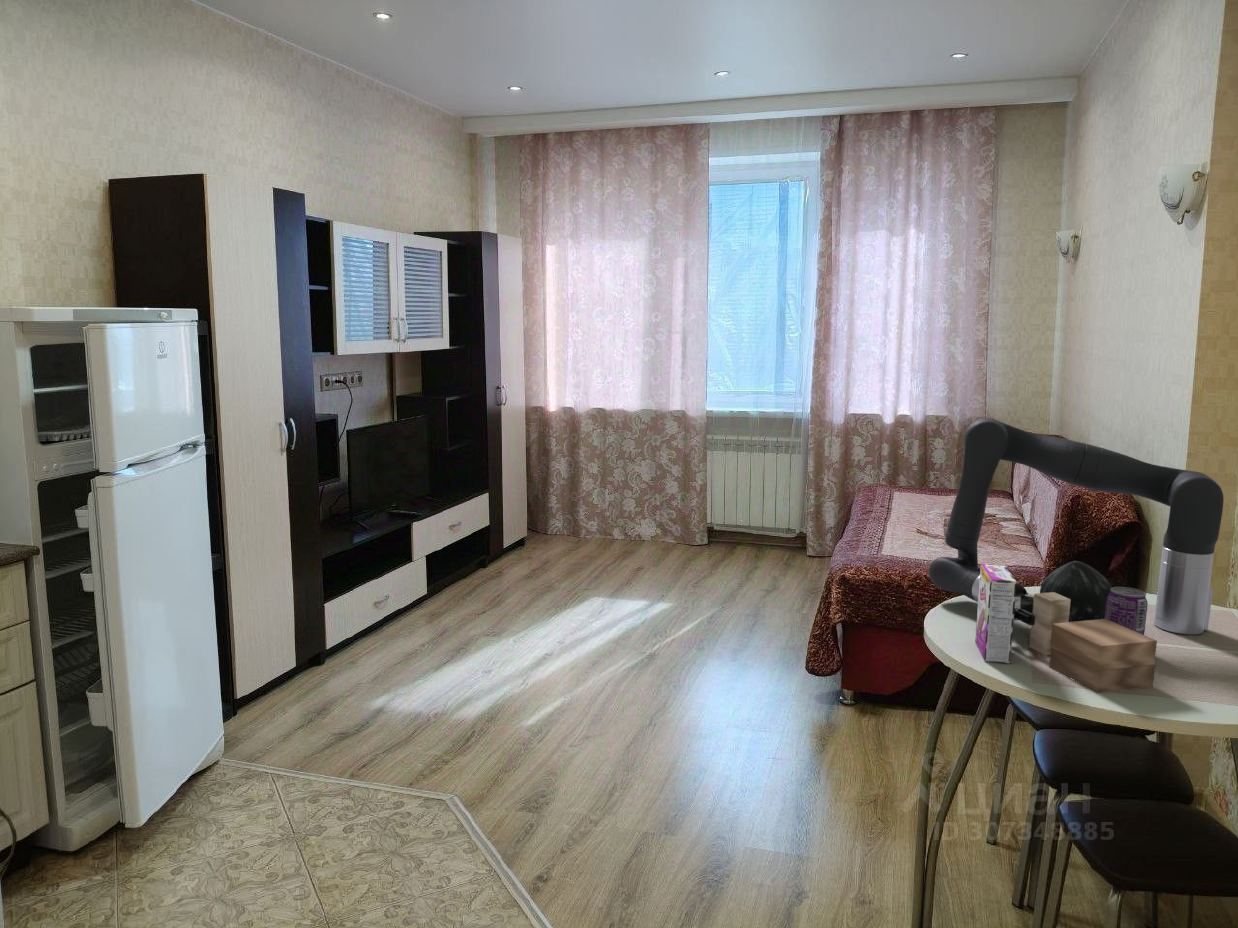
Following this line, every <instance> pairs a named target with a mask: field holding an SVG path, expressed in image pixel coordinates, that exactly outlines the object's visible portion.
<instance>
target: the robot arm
mask: <svg viewBox="0 0 1238 928" xmlns="http://www.w3.org/2000/svg"><path fill="white" fill-rule="evenodd" d="M963 445H964V449H963V450H964V454H963V455H964V456H963V467H962V472H961V473H962V475H961V478H960V482H959V486H958V490H957V493H956V496H955V499H954V502H953V506H952V508H951V513H950V516H949V521H948V524H947V527H946V528H947V529H946V533H945V536H944V537H945V539H944V541H945V543H946V545H947V546H948V547H950V548H952V549H954V550H957V557H950V556H939V557H936V558H935V559H934V560H933V561H932V562H931V563H930V564H929V568H928V576H929V578H930V580H931V582H932V583H933V584H934V585H935V586H936V587H938V588H939V589H942V590H945V591H948V592H951V593H954V594H959V595H961V596H965V597H967V598H969V599H971V600H972V601H975V602H977V603H978V596H979V582H980V568H981V567H979V561H978V560H979V558H978V556H979V555H978V554H979V553H978V542H979V538H980V536H981V535H980V534H981V531H982V526H983V522H984V517H985V513H986V508H987V501H988V497H989V491H990V487H991V484H992V481H993V477H994V475H995V473H996V470H997V467H998V465H999V463H1000V460H1001V461H1007V462H1011V463H1016V464H1020V465H1024V466H1026V467H1028V468H1031V469H1033V470H1036V471H1038V472H1041V473H1043V474H1044V475H1047V476H1048V477H1050V478H1051V477H1052V478H1054V479H1055V480H1056V479H1057V480H1059V481H1062V482H1064V483H1067V484H1070V485H1072V486H1073V485H1074V486H1077V487H1081V488H1085V489H1088V490H1091V491H1092V490H1094V491H1097V492H1103V493H1112V494H1113V493H1114V494H1123V495H1124V494H1125V495H1132V496H1133V495H1134V496H1138V497H1141V498H1145V499H1148V500H1151V501H1154V502H1156V503H1157V502H1158V503H1160V504H1163V505H1165V506H1168V507H1170V508H1169V515H1168V522H1167V528H1166V531H1165V533H1164V535H1163V541H1162V550H1161V551H1162V552H1161V560H1160V561H1161V562H1160V567H1159V568H1160V569H1159V574H1158V575H1159V576H1158V577H1159V578H1158V586H1157V594H1156V600H1155V601H1156V602H1155V609H1154V617H1153V618H1154V619H1153V624H1154V625H1155V626H1156V627H1157V628H1159V629H1161V630H1165V631H1168V632H1172V633H1175V634H1182V635H1200V634H1203V633H1204V632H1205V631H1208V630H1209V623H1210V615H1211V607H1212V599H1213V592H1214V587H1213V586H1212V585H1211V578H1212V571H1213V561H1214V554H1215V550H1216V549H1215V548H1216V545H1217V542H1218V539H1219V537H1220V536H1219V535H1220V529H1221V523H1222V517H1223V512H1224V497H1225V496H1224V493H1223V490H1222V488H1221V486H1220V485H1219V484H1218V483H1217V482H1216V481H1215V480H1214V479H1213V478H1211V477H1210V476H1209V475H1207V474H1205V473H1202V472H1199V471H1193V470H1188V469H1181V468H1174V467H1169V466H1162V465H1159V464H1153V463H1149V462H1146V461H1142V460H1140V459H1138V458H1134V457H1132V456H1130V455H1129V456H1128V455H1126V454H1123V453H1121V452H1120V453H1119V452H1117V451H1114V450H1111V449H1108V448H1104V447H1100V446H1097V445H1092V444H1089V443H1086V442H1085V443H1084V442H1080V441H1077V440H1072V439H1065V438H1061V437H1056V436H1055V437H1054V436H1048V435H1043V434H1037V433H1033V432H1029V431H1027V430H1024V429H1022V428H1018V427H1015V426H1012V425H1009V424H1007V423H1005V422H1002V421H1000V420H997V419H994V418H990V417H982V418H979V419H976V420H974V421H973V422H971V423H970V424H969V425H968V427H967V428H966V430H965V432H964V434H963ZM1033 603H1034V595H1032V594H1029V593H1028V591H1027V589H1026V587H1024V585H1022V584H1020V583H1018V582H1017V584H1016V594H1015V608H1014V620H1013V621H1015V622H1016V621H1019V622H1021V623H1023V624H1026V625H1028V626H1030V627H1031V625H1034V624H1035V615H1034V614H1032V613H1033ZM1071 621H1072V612H1071V611H1070V612H1069V621H1068V622H1071ZM1204 630H1205V631H1204Z"/></svg>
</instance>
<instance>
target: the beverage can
mask: <svg viewBox="0 0 1238 928" xmlns="http://www.w3.org/2000/svg"><path fill="white" fill-rule="evenodd" d="M1110 591H1111V592H1110V594H1109V595H1108V596H1107V602H1106V612H1105V619H1107V620H1109V621H1112V622H1114V623H1116V624H1119V625H1121V626H1123V627H1126V628H1128V629H1131V630H1133V631H1135V632H1138V633H1140V634H1142V635H1145V631H1146V621H1147V614H1148V613H1147V612H1148V605H1149V604H1148V599H1147V597H1146V596H1147V593H1146V591H1143V590H1141V589H1137V588H1133V587H1128V586H1114V587H1112V588H1111V590H1110Z"/></svg>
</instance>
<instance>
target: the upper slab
mask: <svg viewBox="0 0 1238 928" xmlns="http://www.w3.org/2000/svg"><path fill="white" fill-rule="evenodd" d="M1157 643H1158V640H1156V639H1155V638H1151V637H1149V636H1147V635H1145V634H1144V635H1142V634H1140V633H1138V632H1135V631H1133V630H1131V629H1128V628H1126V627H1123V626H1121V625H1119V624H1116V623H1114V622H1112V621H1109V620H1107V619H1097V620H1086V621H1075V622H1065V623H1054V624H1052V632H1051V642H1050V647H1052V648H1054V649H1056V650H1058V651H1060V652H1062V653H1064V654H1066V655H1068V656H1070V657H1072V658H1074V659H1076V660H1078V661H1080V662H1082V663H1084V664H1086V665H1088V666H1090V667H1092V668H1094V669H1096V670H1098V671H1102V670H1111V669H1120V668H1129V667H1138V666H1147V665H1155V660H1156V652H1157Z"/></svg>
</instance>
